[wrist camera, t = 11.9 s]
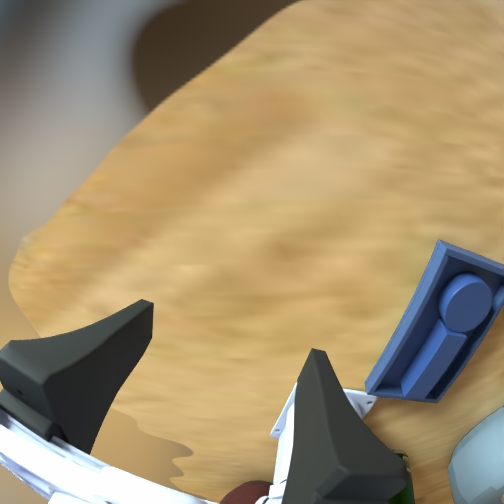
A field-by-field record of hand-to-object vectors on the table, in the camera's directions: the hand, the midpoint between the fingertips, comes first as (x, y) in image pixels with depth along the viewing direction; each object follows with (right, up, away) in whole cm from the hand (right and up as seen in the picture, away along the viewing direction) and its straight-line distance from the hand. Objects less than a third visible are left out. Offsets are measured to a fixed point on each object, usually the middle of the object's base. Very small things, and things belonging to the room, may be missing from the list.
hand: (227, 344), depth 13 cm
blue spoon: (+16, -2, +8) cm, 18 cm away
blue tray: (+16, -2, +9) cm, 19 cm away
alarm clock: (+37, -21, +13) cm, 44 cm away
